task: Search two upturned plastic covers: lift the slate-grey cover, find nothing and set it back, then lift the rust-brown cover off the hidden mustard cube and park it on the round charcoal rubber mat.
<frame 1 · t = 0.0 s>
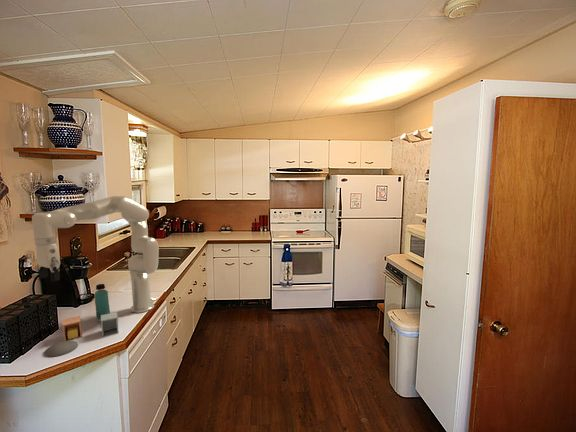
hand: (49, 279, 141), 31 cm above the countertop, fingers open, 9 cm apart
rust cover: (73, 336, 153), on the countertop
mustard cube: (72, 332, 153), in the rust cover
beverage bottle: (103, 321, 169), on the countertop
charcoal mat: (61, 349, 141), on the countertop
slate cover: (110, 331, 157), on the countertop
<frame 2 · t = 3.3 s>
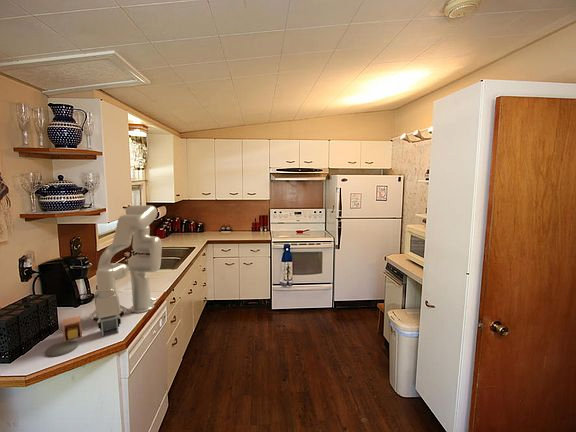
hand: (109, 327, 157), 2 cm above the countertop, fingers closed on slate cover, 7 cm apart
slate cover: (110, 331, 157), on the countertop, touching gripper
everything else where it was.
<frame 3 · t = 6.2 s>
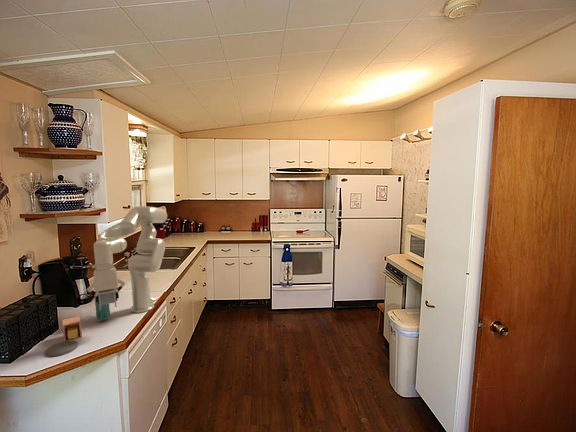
hand: (107, 301, 155), 16 cm above the countertop, fingers closed on slate cover, 7 cm apart
slate cover: (108, 305, 155), point 13 cm above the countertop, touching gripper
everything else where it was.
when the fingers open (4 cm above the countertop, at t = 9.0 s): slate cover drops 1 cm, on the countertop.
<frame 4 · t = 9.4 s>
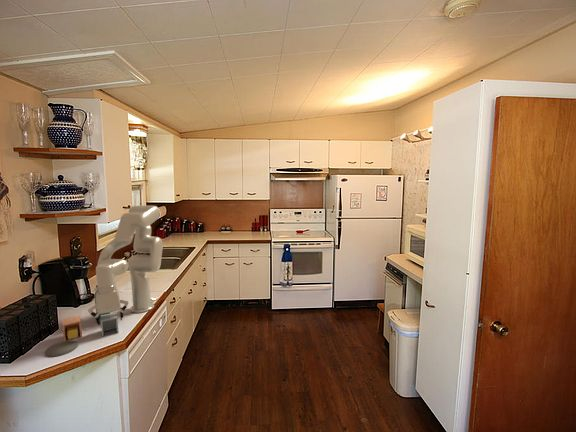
hand: (110, 321, 157), 5 cm above the countertop, fingers open, 9 cm apart
slate cover: (110, 331, 157), on the countertop
everything else where it was.
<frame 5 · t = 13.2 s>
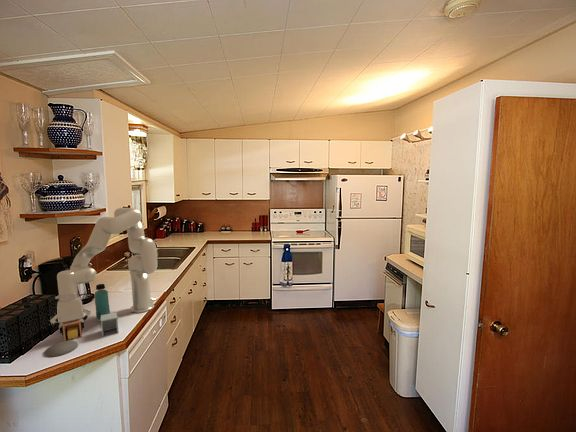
hand: (72, 331, 153), 2 cm above the countertop, fingers closed on rust cover, 7 cm apart
rust cover: (73, 336, 153), on the countertop, touching gripper
everything else where it was.
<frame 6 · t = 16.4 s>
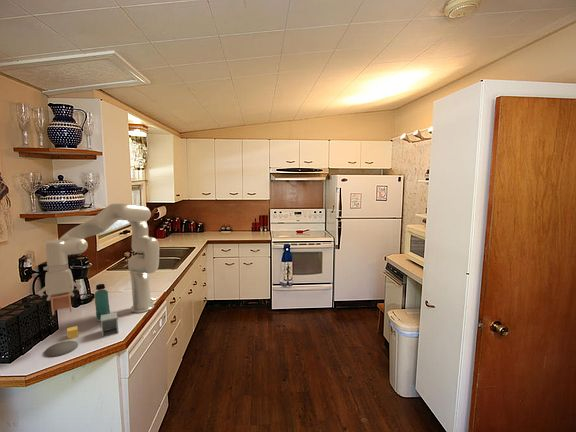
hand: (61, 305, 144), 18 cm above the countertop, fingers closed on rust cover, 7 cm apart
rust cover: (62, 310, 144), point 16 cm above the countertop, touching gripper
everything else where it was.
when the fingers open (4 cm above the countertop, at t = 19.8 s): rust cover drops 1 cm, resting on charcoal mat.
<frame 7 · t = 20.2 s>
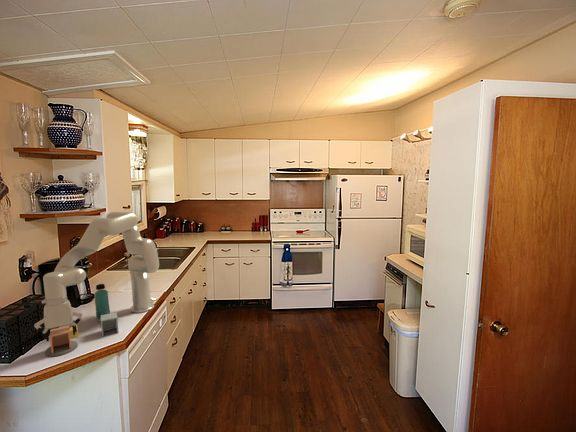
hand: (61, 337, 141), 6 cm above the countertop, fingers open, 9 cm apart
rust cover: (61, 347, 141), point 1 cm above the countertop, touching charcoal mat
everything else where it was.
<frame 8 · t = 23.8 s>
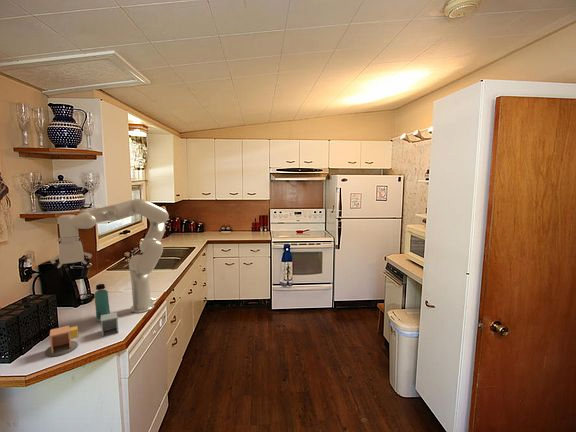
hand: (73, 273, 159), 28 cm above the countertop, fingers open, 9 cm apart
nothing on the countertop moved.
at the end: rust cover 0.0 cm off-centre on the charcoal mat, point 0.8 cm above the charcoal mat's base; rust cover tilted 0°; mustard cube moved 0.1 cm from its start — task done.
